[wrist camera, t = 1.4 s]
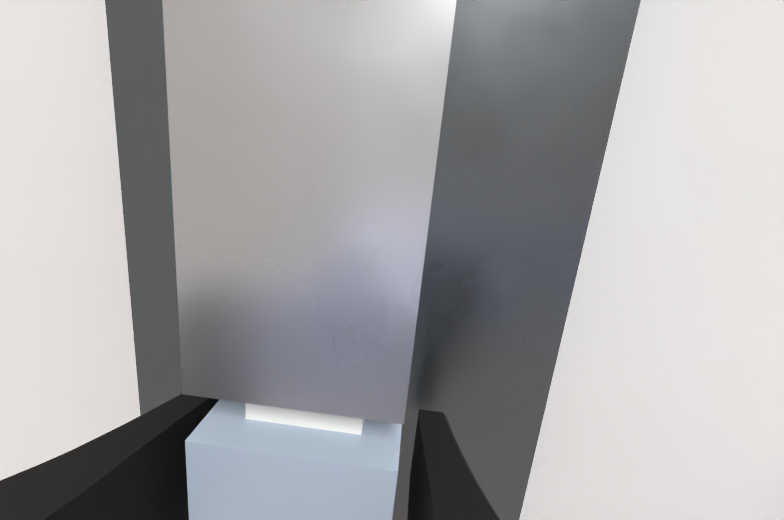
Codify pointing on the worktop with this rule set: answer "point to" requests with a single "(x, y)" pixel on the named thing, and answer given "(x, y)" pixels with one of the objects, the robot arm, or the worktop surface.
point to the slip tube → (290, 465)
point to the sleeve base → (364, 205)
